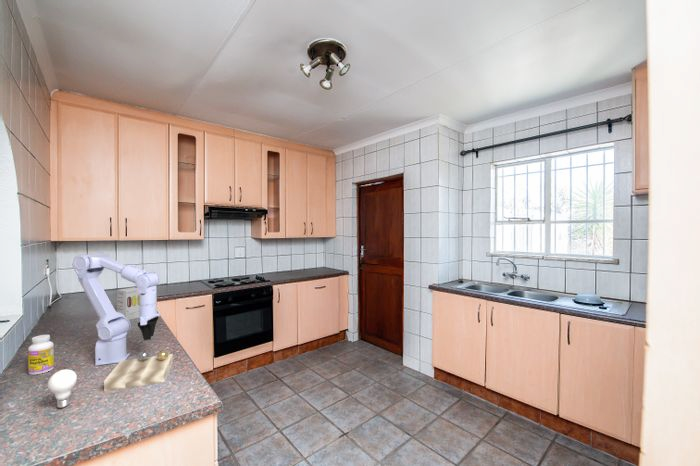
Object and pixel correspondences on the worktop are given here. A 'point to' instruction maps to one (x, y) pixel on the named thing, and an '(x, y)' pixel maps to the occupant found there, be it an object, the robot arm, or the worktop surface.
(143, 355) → the steel ball
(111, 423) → the worktop surface
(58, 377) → the lightbulb
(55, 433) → the worktop surface
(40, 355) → the supplement bottle
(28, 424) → the worktop surface
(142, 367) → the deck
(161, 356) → the brass ball
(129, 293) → the supplement box
